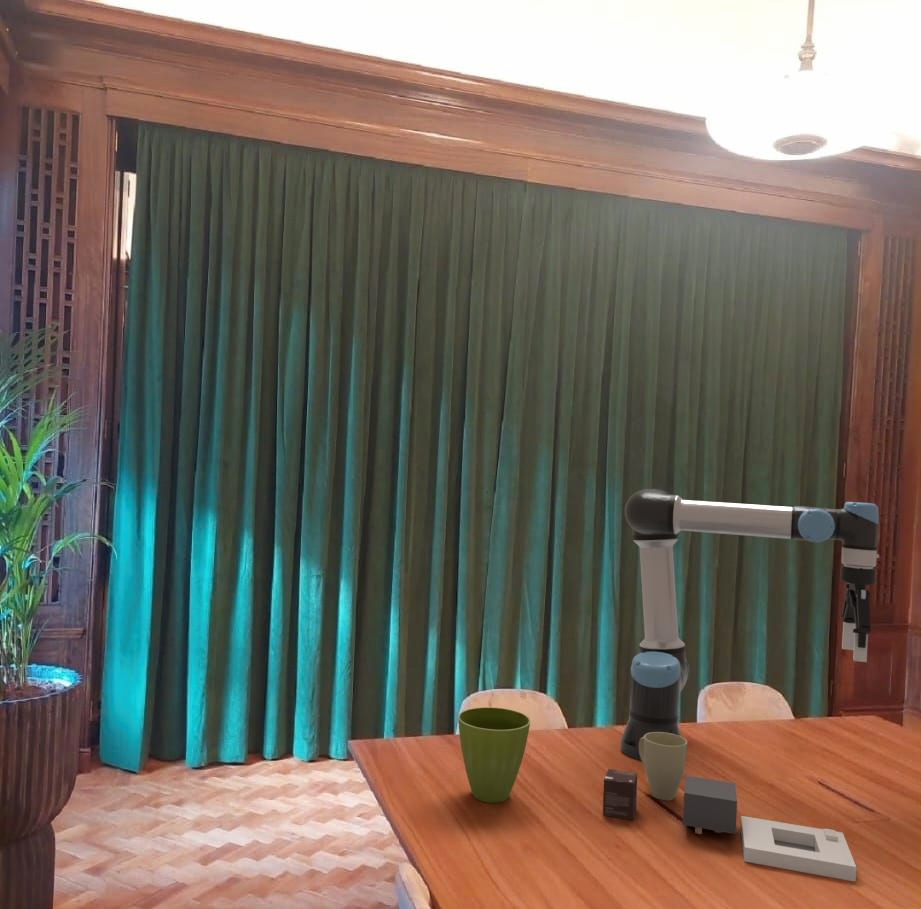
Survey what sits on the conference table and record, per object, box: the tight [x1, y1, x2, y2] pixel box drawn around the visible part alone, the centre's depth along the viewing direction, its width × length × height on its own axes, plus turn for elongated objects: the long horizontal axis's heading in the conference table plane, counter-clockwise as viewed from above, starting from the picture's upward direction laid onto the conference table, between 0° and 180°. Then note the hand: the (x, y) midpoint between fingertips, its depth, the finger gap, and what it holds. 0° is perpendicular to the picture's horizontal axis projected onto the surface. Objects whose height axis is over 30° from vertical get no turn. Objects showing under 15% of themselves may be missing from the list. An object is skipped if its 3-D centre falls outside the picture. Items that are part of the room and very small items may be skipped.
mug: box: [639, 732, 688, 801], centre depth 170 cm, size 11×10×12 cm
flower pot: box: [457, 706, 531, 804], centre depth 164 cm, size 15×15×16 cm
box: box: [602, 768, 638, 821], centre depth 159 cm, size 6×6×7 cm
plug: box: [682, 774, 738, 835], centre depth 153 cm, size 10×10×8 cm
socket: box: [740, 815, 857, 882], centre depth 145 cm, size 18×14×3 cm
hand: (853, 655), depth 191 cm, fingers open, 13 cm apart
